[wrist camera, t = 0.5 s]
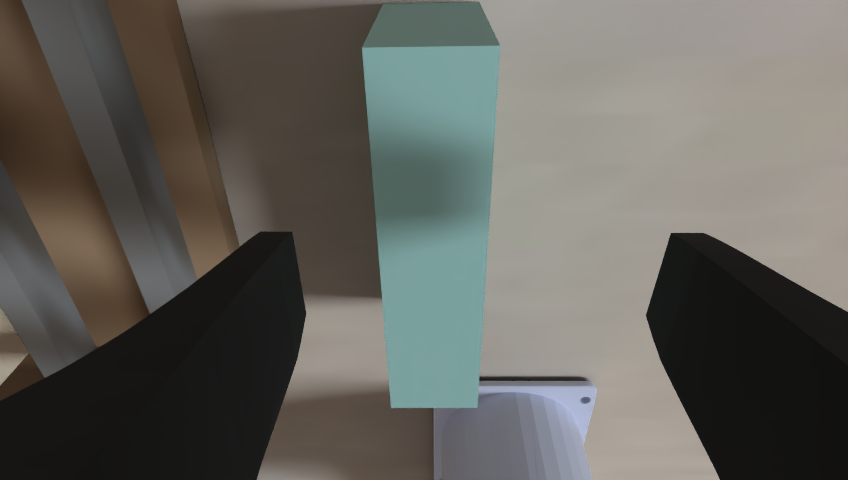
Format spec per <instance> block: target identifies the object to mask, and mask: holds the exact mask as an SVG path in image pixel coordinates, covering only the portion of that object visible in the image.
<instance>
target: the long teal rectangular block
mask: <svg viewBox="0 0 848 480" xmlns="http://www.w3.org/2000/svg"><path fill="white" fill-rule="evenodd" d="M362 55H363V67H364V80H365V92H366V105H367V117H368V129H369V142H370V154H371V167H372V179H373V192H374V204H375V216H376V229H377V241H378V254H379V266H380V279H381V291H382V303H383V316H384V328H385V341H386V353H387V366H388V378H389V390H390V403H391V408H478V392H479V376H480V360H481V344H482V328H483V312H484V296H485V280H486V264H487V248H488V232H489V216H490V200H491V184H492V169H493V153H494V137H495V121H496V105H497V89H498V73H499V57H500V44H499V42H498V40H497V38H496V36H495V34H494V32H493V30H492V28H491V26H490V23H489V21H488V19H487V17H486V15H485V13H484V11H483V9H482V7H481V5H480V3H479V2H443V3H383V5H382V7H381V9H380V11H379V13H378V15H377V17H376V19H375V22H374V24H373V26H372V28H371V30H370V32H369V34H368V36H367V38H366V40H365V42H364V44H363V46H362Z"/></svg>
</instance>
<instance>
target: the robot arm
mask: <svg viewBox="0 0 848 480" xmlns="http://www.w3.org/2000/svg"><path fill="white" fill-rule="evenodd" d="M305 317H306V310H305V304H304V298H303V292H302V287H301V281H300V275H299V269H298V263H297V257H296V252H295V246H294V240H293V234H292V232H259V233H258V234H256V235H255V236H253V237H252V238H251V239H249V240H248V241H247V242H245V243H244V244H243V245H242V246H240V247H239V248H238V249H236V250H235V251H234V252H233V253H231V254H230V255H229V256H228V257H226V258H225V259H224V260H222V261H221V262H220V263H219V264H217V265H216V266H215V267H214V268H212V269H211V270H210V271H208V272H207V273H206V274H204V275H203V276H202V277H201V278H199V279H198V280H197V281H195V282H194V283H193V284H191V285H190V286H189V287H188V288H186V289H185V290H184V291H182V292H181V293H179V294H178V295H177V296H175V297H174V298H172V299H171V300H169V301H168V302H167V303H165V304H164V305H162V306H161V307H159V308H158V309H157V310H155V311H154V312H152V313H151V314H149V315H148V316H147V317H145V318H144V319H142V320H141V321H140V322H138V323H137V324H135V325H134V326H132V327H131V328H129V329H128V330H126V331H125V332H123V333H121V334H120V335H118V336H117V337H115V338H113V339H112V340H110V341H109V342H107V343H105V344H104V345H102V346H100V347H99V348H97V349H95V350H94V351H92V352H90V353H89V354H87V355H85V356H83V357H82V358H80V359H78V360H77V361H75V362H73V363H72V364H70V365H68V366H66V367H64V368H63V369H61V370H59V371H57V372H55V373H53V374H51V375H49V376H47V377H46V378H44V379H42V380H40V381H38V382H36V383H34V384H32V385H30V386H28V387H26V388H24V389H22V390H20V391H18V392H16V393H15V394H13V395H11V396H9V397H7V398H5V399H3V400H1V401H0V480H257V476H258V473H259V470H260V466H261V463H262V460H263V457H264V454H265V452H266V449H267V446H268V443H269V440H270V437H271V434H272V431H273V428H274V425H275V423H276V420H277V417H278V414H279V411H280V408H281V405H282V402H283V400H284V397H285V394H286V391H287V388H288V385H289V382H290V379H291V376H292V373H293V370H294V367H295V364H296V361H297V357H298V353H299V348H300V343H301V338H302V333H303V328H304V322H305ZM646 317H647V321H648V324H649V327H650V330H651V333H652V337H653V340H654V343H655V346H656V348H657V351H658V354H659V357H660V360H661V362H662V364H663V366H664V368H665V371H666V373H667V375H668V377H669V379H670V381H671V383H672V385H673V387H674V389H675V391H676V393H677V395H678V397H679V399H680V401H681V403H682V405H683V407H684V409H685V411H686V413H687V415H688V417H689V418H690V420H691V422H692V424H693V426H694V428H695V430H696V432H697V434H698V436H699V438H700V440H701V442H702V444H703V446H704V448H705V450H706V452H707V454H708V456H709V458H710V460H711V462H712V464H713V466H714V468H715V470H716V472H717V474H718V476H719V479H720V480H848V312H847V311H845V310H843V309H841V308H839V307H838V306H836V305H834V304H832V303H830V302H828V301H827V300H825V299H823V298H821V297H819V296H817V295H816V294H814V293H812V292H810V291H809V290H807V289H805V288H803V287H801V286H800V285H798V284H796V283H794V282H793V281H791V280H789V279H787V278H786V277H784V276H782V275H780V274H779V273H777V272H775V271H774V270H772V269H770V268H768V267H767V266H765V265H763V264H761V263H760V262H758V261H756V260H754V259H753V258H751V257H749V256H747V255H746V254H744V253H742V252H740V251H738V250H737V249H735V248H733V247H731V246H729V245H727V244H725V243H724V242H722V241H720V240H718V239H716V238H714V237H711V236H709V235H707V234H705V233H671V235H670V238H669V242H668V245H667V248H666V251H665V255H664V258H663V261H662V264H661V268H660V271H659V274H658V278H657V281H656V284H655V287H654V291H653V294H652V297H651V301H650V304H649V307H648V310H647V314H646ZM596 395H597V389H596V386H595V384H594V383H592V382H590V381H479V392H478V408H434V480H593V478H592V474H591V471H590V467H589V463H588V460H587V456H586V453H585V449H584V446H583V445H584V441H585V437H586V433H587V429H588V426H589V422H590V418H591V414H592V410H593V406H594V402H595V399H596Z"/></svg>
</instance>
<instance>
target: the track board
mask: <svg viewBox="0 0 848 480" xmlns="http://www.w3.org/2000/svg"><path fill="white" fill-rule="evenodd" d="M238 248H239V243H238V239H237V235H236V231H235V227H234V224H233V220H232V216H231V212H230V208H229V204H228V200H227V196H226V192H225V189H224V185H223V181H222V177H221V173H220V169H219V165H218V161H217V157H216V153H215V150H214V146H213V142H212V138H211V134H210V130H209V126H208V122H207V118H206V115H205V111H204V107H203V103H202V99H201V95H200V91H199V87H198V83H197V79H196V76H195V72H194V68H193V64H192V60H191V56H190V52H189V48H188V44H187V41H186V37H185V33H184V29H183V25H182V21H181V17H180V13H179V9H178V5H177V2H176V0H0V306H1V308H2V309H3V311H4V313H5V314H6V316H7V317H8V319H9V321H10V322H11V324H12V325H13V327H14V329H15V330H16V332H17V334H18V335H19V337H20V338H21V340H22V342H23V343H24V345H25V347H26V348H27V350H28V351H29V354H28V355H27V356H26V358H25V359H24V360H23V361H22V362H21V363H20V364H19V365H18V366H17V368H16V369H15V370H14V371H13V372H12V373H11V374H10V375H9V377H8V378H7V379H6V380H5V381H4V382H3V383H2V384H1V385H0V401H1V400H3V399H5V398H7V397H9V396H11V395H13V394H15V393H16V392H18V391H20V390H22V389H24V388H26V387H28V386H30V385H32V384H34V383H36V382H38V381H40V380H42V379H44V378H46V377H47V376H49V375H51V374H53V373H55V372H57V371H59V370H61V369H63V368H64V367H66V366H68V365H70V364H72V363H73V362H75V361H77V360H78V359H80V358H82V357H83V356H85V355H87V354H89V353H90V352H92V351H94V350H95V349H97V348H99V347H100V346H102V345H104V344H105V343H107V342H109V341H110V340H112V339H113V338H115V337H117V336H118V335H120V334H121V333H123V332H125V331H126V330H128V329H129V328H131V327H132V326H134V325H135V324H137V323H138V322H140V321H141V320H142V319H144V318H145V317H147V316H148V315H149V314H151V313H152V312H154V311H155V310H157V309H158V308H159V307H161V306H162V305H164V304H165V303H167V302H168V301H169V300H171V299H172V298H174V297H175V296H177V295H178V294H179V293H181V292H182V291H184V290H185V289H186V288H188V287H189V286H190V285H191V284H193V283H194V282H195V281H197V280H198V279H199V278H201V277H202V276H203V275H204V274H206V273H207V272H208V271H210V270H211V269H212V268H214V267H215V266H216V265H217V264H219V263H220V262H221V261H222V260H224V259H225V258H226V257H228V256H229V255H230V254H231V253H233V252H234V251H235V250H236V249H238Z"/></svg>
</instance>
